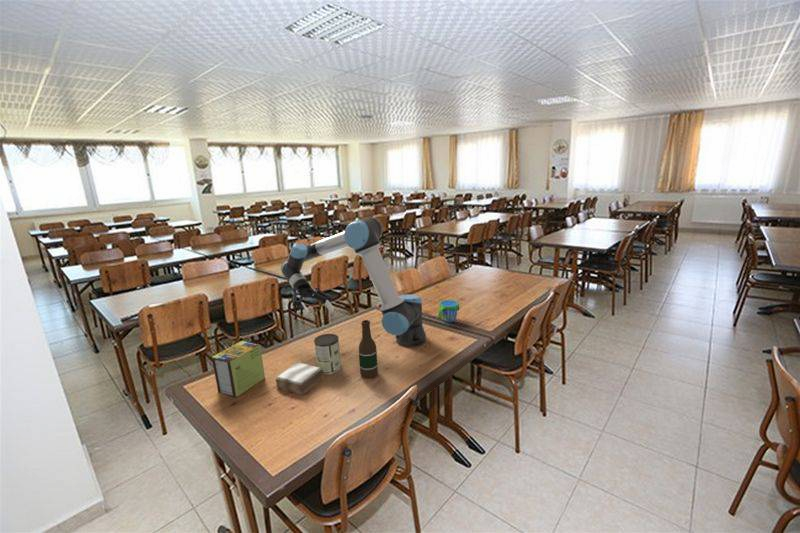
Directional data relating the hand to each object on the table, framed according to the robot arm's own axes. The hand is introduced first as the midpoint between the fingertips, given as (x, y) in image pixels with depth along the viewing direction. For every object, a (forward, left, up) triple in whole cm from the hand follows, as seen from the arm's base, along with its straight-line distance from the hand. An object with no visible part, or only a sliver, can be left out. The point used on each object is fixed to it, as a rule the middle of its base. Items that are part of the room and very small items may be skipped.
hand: (320, 312), depth 170 cm
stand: (-6, +24, -21) cm, 33 cm away
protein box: (+16, +34, -21) cm, 43 cm away
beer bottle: (-29, +8, -21) cm, 37 cm away
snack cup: (-42, -58, -21) cm, 74 cm away
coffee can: (-10, +10, -21) cm, 26 cm away
